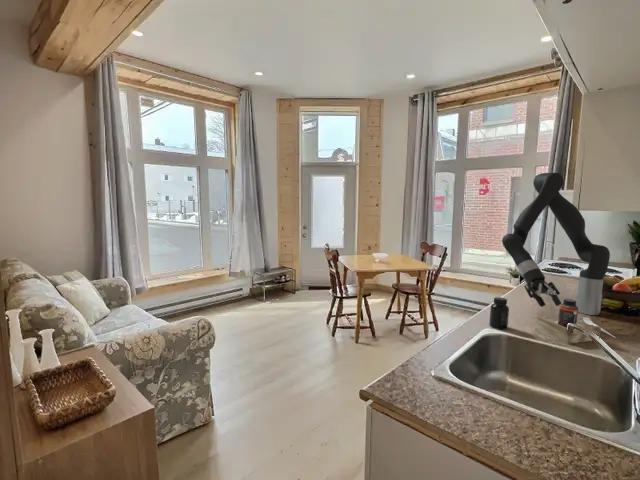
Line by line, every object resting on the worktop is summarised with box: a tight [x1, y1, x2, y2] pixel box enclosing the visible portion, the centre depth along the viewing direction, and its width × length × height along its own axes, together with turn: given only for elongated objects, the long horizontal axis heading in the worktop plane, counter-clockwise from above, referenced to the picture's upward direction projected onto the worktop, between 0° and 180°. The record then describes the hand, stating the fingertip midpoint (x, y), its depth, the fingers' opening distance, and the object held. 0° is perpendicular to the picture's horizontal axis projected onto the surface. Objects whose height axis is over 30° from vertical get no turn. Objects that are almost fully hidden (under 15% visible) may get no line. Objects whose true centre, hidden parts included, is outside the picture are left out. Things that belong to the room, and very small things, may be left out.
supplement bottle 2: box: [557, 298, 579, 328], centre depth 138 cm, size 6×6×11 cm
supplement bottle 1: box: [488, 296, 510, 330], centre depth 145 cm, size 7×7×12 cm
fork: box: [582, 316, 617, 339], centre depth 148 cm, size 3×20×2 cm, turn 172°
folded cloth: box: [534, 316, 602, 345], centre depth 139 cm, size 16×14×5 cm
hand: (551, 305), depth 145 cm, fingers open, 8 cm apart
